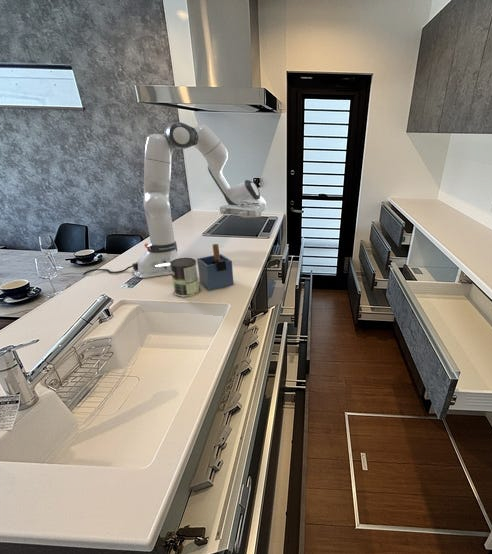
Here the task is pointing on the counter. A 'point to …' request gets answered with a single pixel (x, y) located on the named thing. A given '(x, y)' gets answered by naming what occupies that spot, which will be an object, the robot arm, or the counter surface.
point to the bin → (214, 273)
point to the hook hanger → (218, 259)
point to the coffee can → (184, 276)
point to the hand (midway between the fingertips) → (231, 213)
